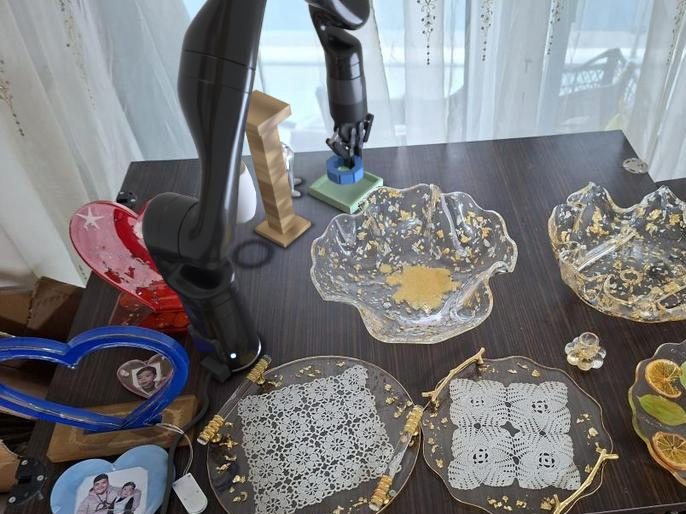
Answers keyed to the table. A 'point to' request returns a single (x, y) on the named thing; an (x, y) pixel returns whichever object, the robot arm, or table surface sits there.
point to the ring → (344, 176)
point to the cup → (245, 196)
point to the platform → (272, 169)
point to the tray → (344, 191)
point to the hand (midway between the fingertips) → (353, 165)
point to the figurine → (290, 169)
